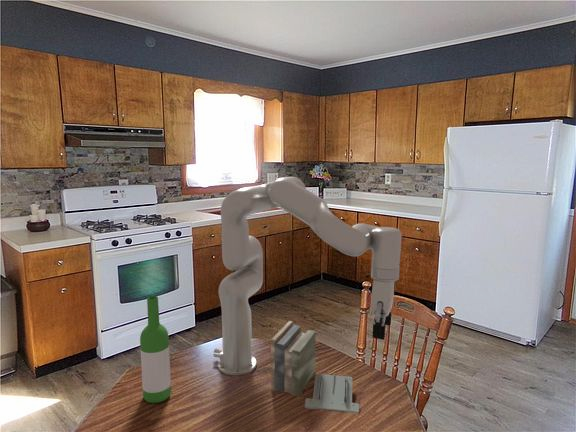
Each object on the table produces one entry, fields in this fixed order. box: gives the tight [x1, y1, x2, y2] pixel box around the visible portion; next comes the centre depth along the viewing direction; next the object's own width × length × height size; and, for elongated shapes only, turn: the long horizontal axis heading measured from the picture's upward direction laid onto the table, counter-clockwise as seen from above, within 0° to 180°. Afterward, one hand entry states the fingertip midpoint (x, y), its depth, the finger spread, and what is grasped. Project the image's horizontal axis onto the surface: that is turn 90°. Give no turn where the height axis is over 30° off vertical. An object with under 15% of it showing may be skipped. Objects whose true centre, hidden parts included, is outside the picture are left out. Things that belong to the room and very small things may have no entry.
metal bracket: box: [304, 372, 360, 415], centre depth 117 cm, size 14×6×15 cm
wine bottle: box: [139, 295, 172, 404], centre depth 115 cm, size 8×8×30 cm
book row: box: [270, 320, 317, 398], centre depth 124 cm, size 9×14×16 cm, turn 158°
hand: (381, 331), depth 113 cm, fingers open, 9 cm apart
